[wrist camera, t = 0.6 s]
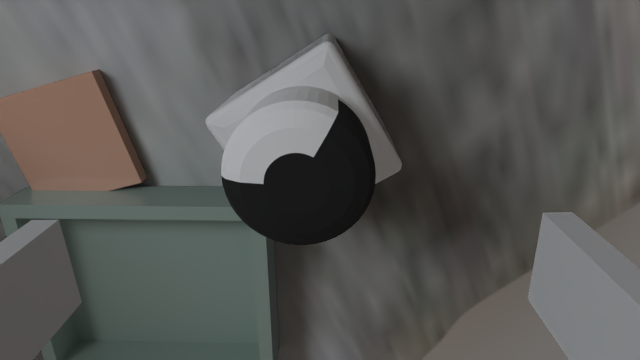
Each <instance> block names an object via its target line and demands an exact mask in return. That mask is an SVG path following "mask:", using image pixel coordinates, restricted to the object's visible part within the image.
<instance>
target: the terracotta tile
mask: <svg viewBox="0 0 640 360" xmlns="http://www.w3.org/2000/svg"><path fill="white" fill-rule="evenodd" d="M0 133H1V135H2V136H3V138H4V140H5V142H6V144H7V146H8V147H9V149H10V151H11V153H12V155H13V156H14V158H15V160H16V162H17V164H18V165H19V167H20V169H21V171H22V173H23V174H24V176H25V178H26V180H27V182H28V183H29V185H30V187H31V189H32V190H57V191H110V190H114V189H118V188H122V187H126V186H130V185H134V184H138V183H142V182H143V181H144V180H145V179H146V178H147V176H146V173H145V171H144V169H143V167H142V164H141V162H140V160H139V158H138V155H137V153H136V151H135V149H134V146H133V144H132V142H131V140H130V137H129V135H128V133H127V131H126V128H125V126H124V124H123V122H122V119H121V117H120V115H119V113H118V110H117V108H116V106H115V104H114V101H113V99H112V97H111V95H110V92H109V90H108V88H107V86H106V83H105V81H104V79H103V77H102V74H101V72H100V70H95V71H91V72H88V73H85V74H81V75H78V76H74V77H71V78H68V79H64V80H61V81H57V82H54V83H51V84H47V85H44V86H40V87H37V88H33V89H30V90H27V91H23V92H20V93H16V94H13V95H10V96H6V97H3V98H0Z"/></svg>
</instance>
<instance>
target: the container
mask: <svg viewBox="0 0 640 360" xmlns="http://www.w3.org/2000/svg"><path fill="white" fill-rule="evenodd" d="M206 125H207V127H208V129H209V130H210V131H211V133H212V134H213V136H214V137H215V138H216V140H217V141H218V143H219V144H220V145H221V147H222V148H223V149H224V154H223V158H222V165H221V176H222V183H223V188H224V191H225V194H226V197H227V199H228V201H229V203H230V205H231V207H232V208H233V210H234V211H235V213H236V214H237V215H238V216H239V217H240V219H241V220H242V221H243V222H244V223H245V224H247V225H248V226H249V227H250V228H251V229H253V230H254V231H256V232H257V233H259V234H261V235H263V236H265V237H267V238H269V239H272V240H274V241H277V242H282V243H286V244H294V245H308V244H316V243H320V242H324V241H327V240H330V239H332V238H335V237H337V236H338V235H340V234H342V233H344V232H345V231H346V230H348V229H349V228H350V227H352V226H353V225H354V224H355V223H356V222H357V221H358V220H359V219H360V217H361V216H362V215H363V213H364V212H365V210H366V209H367V207H368V205H369V203H370V201H371V198H372V195H373V192H374V187H375V184H377V183H378V182H380V181H382V180H384V179H386V178H388V177H389V176H391V175H393V174H395V173H397V172H398V171H400V170H401V167H402V163H401V160H400V158H399V155H398V153H397V151H396V149H395V146H394V144H393V142H392V140H391V137H390V135H389V133H388V131H387V128H386V127H385V125H384V123H383V121H382V120H381V118H380V116H379V114H378V113H377V111H376V109H375V107H374V106H373V104H372V102H371V100H370V99H369V97H368V95H367V93H366V92H365V90H364V88H363V86H362V85H361V83H360V81H359V79H358V78H357V76H356V74H355V72H354V71H353V69H352V67H351V65H350V64H349V62H348V60H347V58H346V57H345V55H344V53H343V51H342V50H341V48H340V46H339V44H338V43H337V41H336V39H335V37H334V36H333V35H332V34H326V35H324V36H323V37H321V38H319V39H318V40H316V41H315V42H313V43H312V44H310V45H309V46H307V47H305V48H304V49H302V50H301V51H299V52H298V53H296V54H295V55H293V56H291V57H290V58H288V59H287V60H285V61H284V62H282V63H281V64H279V65H277V66H276V67H274V68H273V69H271V70H270V71H268V72H267V73H265V74H263V75H262V76H260V77H259V78H257V79H256V80H254V81H253V82H251V83H249V84H248V85H246V86H245V87H243V88H242V89H240V90H239V91H237V92H236V93H235V94H233V95H232V96H231V97H230V98H229V99H228V100H226V101H225V102H224V103H223V104H222V105H221V106H219V107H218V108H217V109H216V110H215V111H214V112H212V113H211V114H210V115H209V116H208V117H207V118H206Z"/></svg>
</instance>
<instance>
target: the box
mask: <svg viewBox="0 0 640 360" xmlns="http://www.w3.org/2000/svg"><path fill="white" fill-rule="evenodd" d="M0 218H1V221H2V225H3V228H4V231H5V235H6V238H7V237H8V236H10V235H11V234H12V233H14V232H15V231H17V230H18V229H20V228H21V227H22V226H24V225H25V224H27V223H28V222H30V221H31V220H59V222H60V225H61V229H62V233H63V236H64V240H65V243H66V247H67V251H68V254H69V258H70V261H71V265H72V268H73V272H74V276H75V279H76V283H77V286H78V290H79V294H80V297H81V301H82V303H81V304H80V305H79V306H78V307H77V309H76V310H75V311H74V312H73V313H72V314H71V316H70V317H69V318H68V319H67V320H66V322H65V323H64V324H63V325H62V326H61V327H60V329H59V330H58V331H57V332H56V333H55V334H54V336H53V337H52V338H51V339H50V340H49V342H48V343H47V344H46V345H45V346H44V347H43V349H42V350H41V352H42V355H43V359H44V360H277V359H278V352H279V334H278V313H277V292H276V272H275V251H274V240H272V239H269V238H267V237H265V236H263V235H261V234H259V233H257V232H256V231H254V230H253V229H251V228H250V227H249V226H248V225H247V224H245V223H244V222H243V221H242V220H241V219H240V217H239V216H238V215H237V214H236V213H235V211H234V210H233V208H232V207H231V205H230V203H229V201H228V199H227V197H226V194H225V191H224V188H223V187H215V186H126V187H122V188H118V189H114V190H110V191H57V190H32V189H31V187H30V186H28V187H26V188H24V189H23V190H21V191H19V192H17V193H16V194H14V195H12V196H11V197H9V198H7V199H5V200H4V201H2V202H0Z"/></svg>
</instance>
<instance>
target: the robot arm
mask: <svg viewBox="0 0 640 360" xmlns="http://www.w3.org/2000/svg"><path fill="white" fill-rule="evenodd" d="M528 300H529V302H530V303H531V304H532V306H533V307H534V309H535V310H536V312H537V313H538V315H539V316H540V318H541V319H542V321H543V322H544V324H545V325H546V327H547V328H548V330H549V331H550V333H551V334H552V336H553V337H554V338H555V340H556V341H557V343H558V344H559V346H560V347H561V349H562V350H563V352H564V353H565V355H566V356H567V358H568V359H569V360H640V269H639V268H638V267H637V266H636V265H634V264H633V263H632V262H631V261H630V260H628V259H627V258H626V257H625V256H624V255H622V254H621V253H620V252H619V251H618V250H616V249H615V248H614V247H613V246H612V245H611V244H609V243H608V242H607V241H606V240H605V239H603V238H602V237H601V236H600V235H599V234H597V233H596V232H595V231H594V230H593V229H592V228H590V227H589V226H588V225H587V224H586V223H585V222H583V221H582V220H581V219H580V218H579V217H577V216H576V215H575V214H574V213H573V212H552V213H543V215H542V221H541V226H540V232H539V238H538V243H537V249H536V254H535V260H534V266H533V271H532V277H531V283H530V288H529V294H528ZM81 303H82V301H81V297H80V294H79V290H78V286H77V283H76V279H75V276H74V272H73V268H72V265H71V261H70V258H69V254H68V251H67V247H66V243H65V240H64V236H63V233H62V229H61V225H60V222H59V220H31V221H30V222H28V223H27V224H25V225H24V226H22V227H21V228H20V229H18V230H17V231H15V232H14V233H12V234H11V235H10V236H8V237H7V238H5V239H4V240H3V241H1V242H0V360H33V359H34V358H35V357H36V356H37V354H38V353H39V352H40V351H41V350H42V349H43V347H44V346H45V345H46V344H47V343H48V342H49V340H50V339H51V338H52V337H53V336H54V334H55V333H56V332H57V331H58V330H59V329H60V327H61V326H62V325H63V324H64V323H65V322H66V320H67V319H68V318H69V317H70V316H71V314H72V313H73V312H74V311H75V310H76V309H77V307H78V306H79V305H80V304H81Z"/></svg>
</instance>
